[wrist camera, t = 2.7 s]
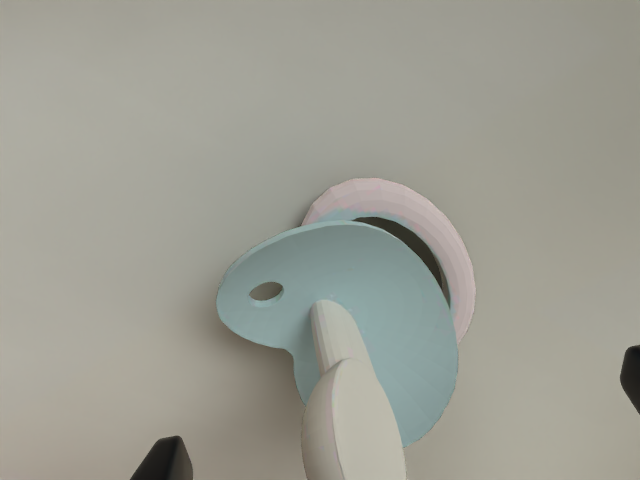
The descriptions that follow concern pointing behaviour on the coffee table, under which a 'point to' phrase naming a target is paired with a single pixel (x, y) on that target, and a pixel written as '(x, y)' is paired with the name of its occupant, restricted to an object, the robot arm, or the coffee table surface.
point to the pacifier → (359, 323)
